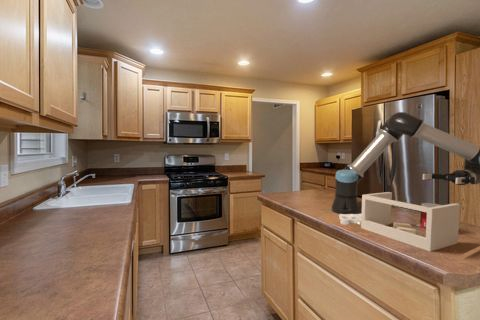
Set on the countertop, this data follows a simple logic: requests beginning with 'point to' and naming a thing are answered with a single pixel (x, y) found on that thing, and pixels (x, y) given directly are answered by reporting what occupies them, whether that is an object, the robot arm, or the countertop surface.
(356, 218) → the white brass knuckles
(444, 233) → the rack
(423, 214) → the canned food
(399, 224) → the offcut top
